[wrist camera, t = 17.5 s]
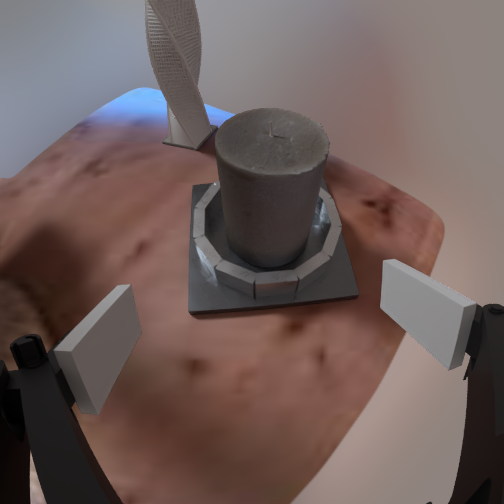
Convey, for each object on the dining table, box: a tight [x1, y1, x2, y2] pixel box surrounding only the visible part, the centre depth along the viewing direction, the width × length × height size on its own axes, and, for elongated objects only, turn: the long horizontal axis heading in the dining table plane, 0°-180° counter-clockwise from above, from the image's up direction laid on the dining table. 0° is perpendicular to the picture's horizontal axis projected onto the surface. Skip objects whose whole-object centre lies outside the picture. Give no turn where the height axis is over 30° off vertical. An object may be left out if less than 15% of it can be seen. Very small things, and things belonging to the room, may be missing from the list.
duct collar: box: [188, 178, 359, 315], centre depth 34 cm, size 18×18×4 cm
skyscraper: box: [145, 0, 218, 150], centre depth 35 cm, size 8×8×28 cm
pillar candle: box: [215, 108, 330, 267], centre depth 28 cm, size 10×10×15 cm
